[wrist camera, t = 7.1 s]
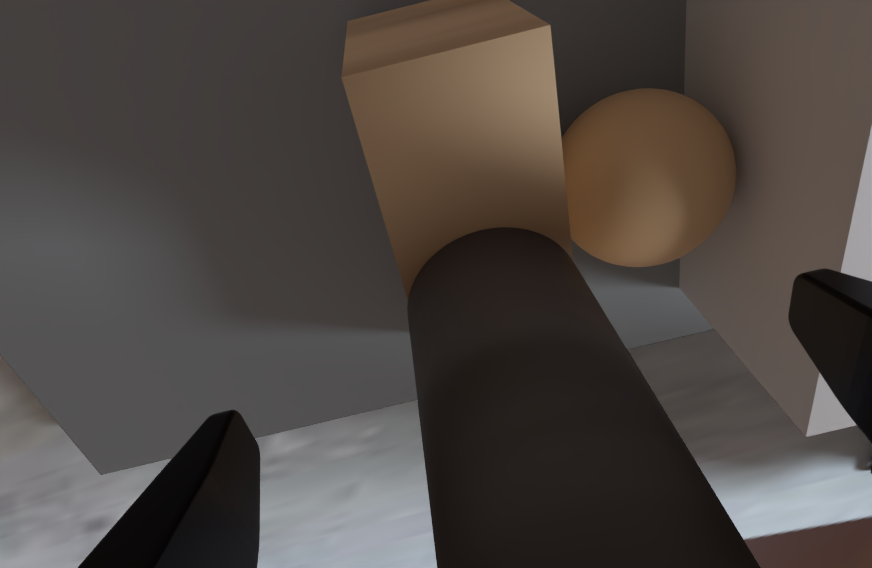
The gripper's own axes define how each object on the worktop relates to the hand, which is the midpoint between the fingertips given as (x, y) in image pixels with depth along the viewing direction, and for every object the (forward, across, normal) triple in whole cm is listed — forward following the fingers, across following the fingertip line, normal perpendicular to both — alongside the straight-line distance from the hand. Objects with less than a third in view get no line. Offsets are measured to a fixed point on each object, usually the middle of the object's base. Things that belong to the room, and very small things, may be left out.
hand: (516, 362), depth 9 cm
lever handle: (+7, 0, 0) cm, 7 cm away
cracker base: (+9, +2, 0) cm, 9 cm away
